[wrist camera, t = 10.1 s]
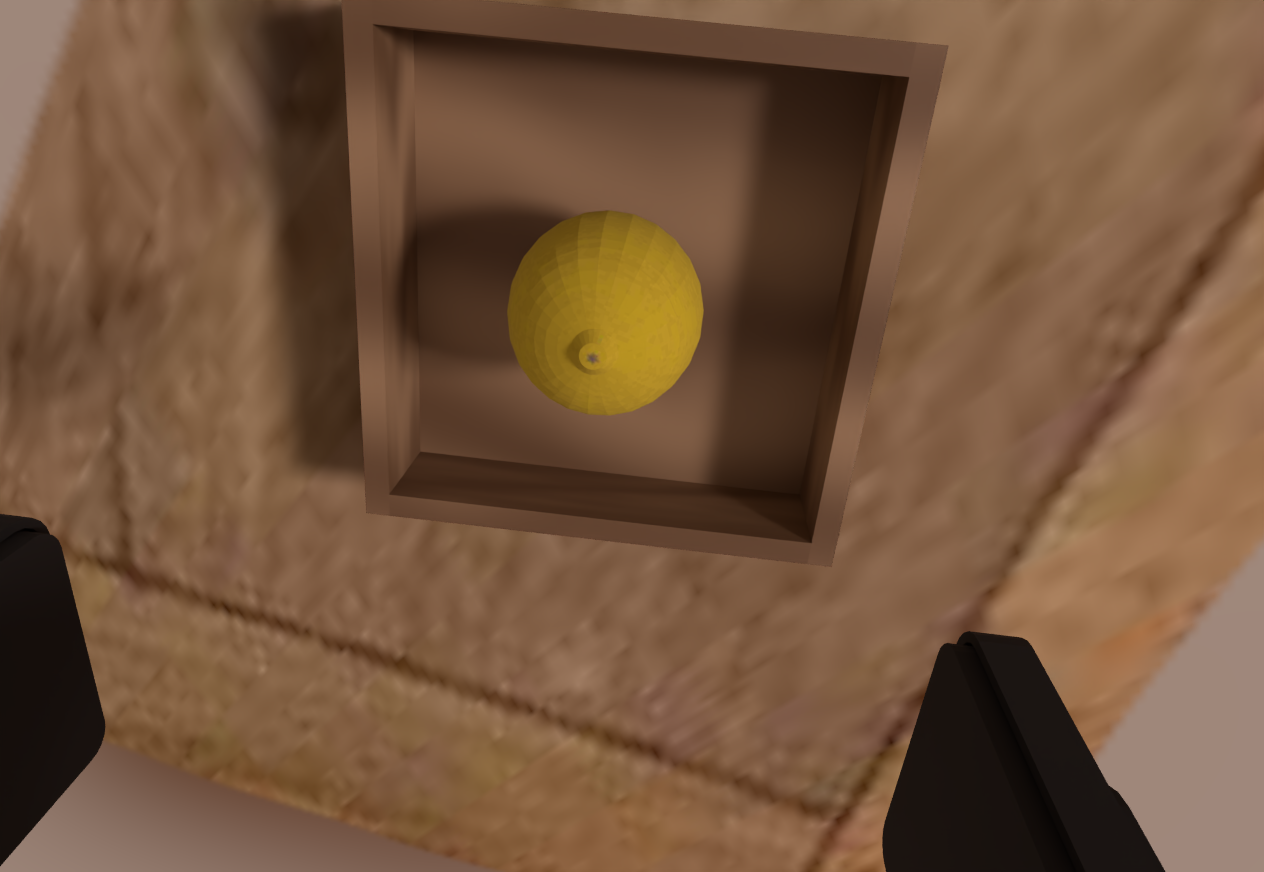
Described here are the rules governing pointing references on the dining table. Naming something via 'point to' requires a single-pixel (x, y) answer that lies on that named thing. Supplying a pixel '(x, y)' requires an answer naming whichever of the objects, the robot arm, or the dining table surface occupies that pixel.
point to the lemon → (605, 312)
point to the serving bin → (661, 193)
